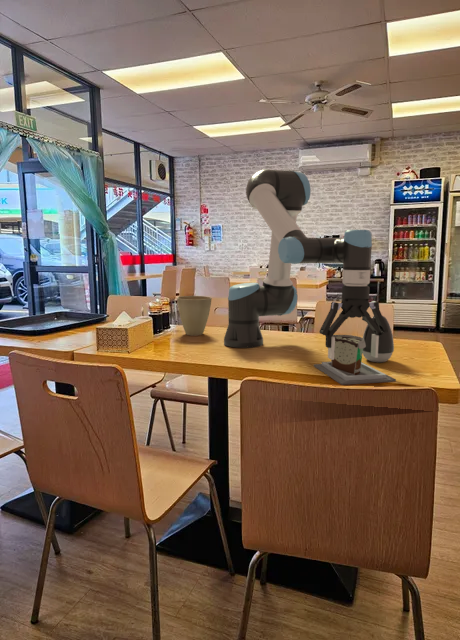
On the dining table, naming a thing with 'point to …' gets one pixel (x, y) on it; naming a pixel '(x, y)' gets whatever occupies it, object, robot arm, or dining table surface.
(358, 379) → the mat
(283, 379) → the dining table surface
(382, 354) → the pump dispenser
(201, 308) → the plant pot
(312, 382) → the dining table surface
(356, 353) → the food container
